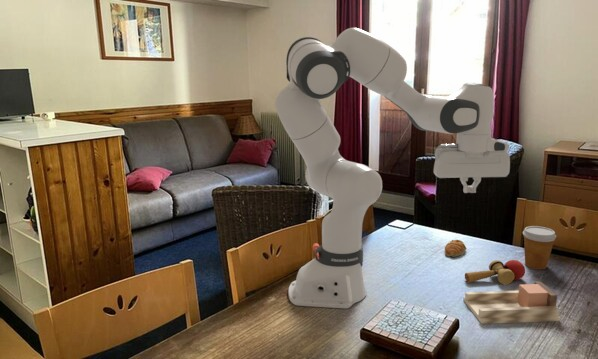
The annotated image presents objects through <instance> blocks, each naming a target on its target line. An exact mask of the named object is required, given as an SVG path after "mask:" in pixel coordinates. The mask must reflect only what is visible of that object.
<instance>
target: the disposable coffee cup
mask: <svg viewBox="0 0 598 359" xmlns="http://www.w3.org/2000/svg"><path fill="white" fill-rule="evenodd" d="M522 236H523V241H524V242H523V245H524V247H523V248H524V265H525V266H526V267H528V268H530V269H534V270H545V269H547V267H548V264H549V260H550V257H551V254H552V250H553V246H554V242H555V240H556V238H557V235H556V232H555V230H553V229H552V228H549V227H544V226H539V225H531V226H530V225H529V226H526V227H525V228H524V229H523V231H522Z"/></svg>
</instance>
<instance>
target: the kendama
mask: <svg viewBox="0 0 598 359" xmlns="http://www.w3.org/2000/svg"><path fill="white" fill-rule="evenodd" d="M524 265H525V264H523V263H522V262H521V261H519V260H517V259H511V260H508V261H506V262H505V263H503V262H502V261H501V260H499V259H495V260H493V261H491V262H490V263H489V265H488V270H482V271H481V270H480V271H471V272H465V273H464V280H465V281H466V283H468V284H469V283H473V282H477V281H480V280H484V279H488V278H492V277H495V276H496V275H497V281H498V282H499V283H500V284H502V285H508V284H510V283H513V281H518V280H520V279H523V277H524V276H525V274H526V268H525V266H524Z"/></svg>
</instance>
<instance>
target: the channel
mask: <svg viewBox="0 0 598 359" xmlns="http://www.w3.org/2000/svg"><path fill="white" fill-rule="evenodd" d="M534 284H538V285H540V286H541V287H542V288H543V289H544V290H546V291H547V292H548V299H547V306H537V307H523V306H522V305H521V304H520V303H518V292H519V289H518V290H496V291H493V290H492V291H490V290H489V291H469V292H468V291H466V292H465V294H464V296H463V302H464V303H465V304H466V306H467V307H468V308H469V310H470V311H471V312H472V314H473V315H474V316H475V317H476V319H477V321H479V322H480V324H481V325H483V324H485V325H487V324H489V325H491V324H508V323H509V324H513V323H516V324H517V323H536V322H537V323H539V322H541V323H542V322H543V323H544V322H545V323H546V322H560V321H561V317H560V316H559V308H560V307H558V306H557V302H558V300H557V299H558V294H556V293H555V292H554V291H553V290H552V289H551V288H549V287H548V286H547V285H545V284H544V283H543V282H542V281H535V282H534Z"/></svg>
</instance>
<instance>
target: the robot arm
mask: <svg viewBox="0 0 598 359" xmlns="http://www.w3.org/2000/svg"><path fill="white" fill-rule="evenodd" d="M285 62H286V80H287V81H288V82H289V84H288V85H287V86H286V87H284V88H283V89H282V90H280V91H279V92H278V94H277V95H276V98H275V100H274V108H275V110H276V113H277V117H278V118H279V121H280V123H281V124H282V126H283V129H284V130H285V131H286V132H285V133H287V135H288V137H289V139H290V140H291V142H292V143H293V145H294V146H295V148H296V149H297V150H298V152H299V154H300V155H301V157H302V159H303V161H304V164H305V166H306V169H305V173H304V174H305V176H304V177H305V180H306V184H307V185H308V186H309V187H310V188H311V189H312V190H314V191H315V192H317V193H318V194H319V195H320V194H321V195H322V196H325V197H328V198H332V200H333V201H332V203H333V204H332V208H331V212H329V213H328V214H326V215H325V216H324V218H323V219H322V221H321V222H322V223H321V243H322V244H321V245H319V243H316V242H315V243H313V245H312V250H313V252H314V258H312V260H310V261H308V262H307V263H306V264H304V265H303V266H301V267H300V268H299V269H298V272H297V274H296V278H295V279H296V280H294V281H292V282H291V283H290V285H289V286H288V291H287V292H288V294H287V295H288V299H289V301H290V302H291V303H292V304H293V305H295V306H300V307H314V308H315V307H316V308H333V309H349V308H351V307H352V306H353V305H354V304H356V303H358V302H360V301H362V300H363V299H365V298H366V296H367V290H366V286H365V281H364V275H363V264H364V248H363V245H362V237H363V236H362V234H363V222H364V217H365V215H366V212H367V211H368V209H369V207H370V206H371V205H373V204H374V203H376V202H377V200H378V199H379V198H380V196H381V194H382V191H383V180H382V177H381V175H380V173H379V172H377V171H376V169H373V168H371V167H369V166H368V165H366V164H363V163H358V162H355V161H350V160H347V159H345V158H344V157H343V156H342V155H341V154H340V150H339V148H340V145H341V136H340V134H339V132H338V131H337V129H336V127H335V125H334V123H333V122H332V120H331V118H330V116H329V115H328V113H327V111H326V109H325V108H324V107H323V104H322V103H321V101H320V100H323V99H328V98H329V97H331V96H333V95H334V94H335V93H337V91H338V90H339V89H340V87H342V85H343V84H345V83H346V82H347V81H348V80H349V78H352V79H353V80H355V81H356V82H358V83H359V84H360V85H362V86H364V87H365V88H367V89H368V90H370V91H372V92H375V93H376V94H379V95H381V96H383V97H384V98H385V99H387V100H388V101H390V102H391V103H392V104H393V105H395V106H396V107H398V108H399V109H400V110H402V111H403V113H405V115H406V116H407V117H408V119H409V120H410V122H411V124H412V125H413V126H414V127H415V128H416V129H417V130H420V131H427V132H434V133H435V132H436V133H441V134H442V133H443V134H448V135H455V134H456V142H455V143H448V144H447V143H441V144H440V145H438V146H437V147H436V148H435V150H434V159H435V161H434V164H433V174H434V175H435V177H437V178H439V179H447V178H448V179H450V178H452V179H453V178H454V179H456V178H459V181H460V182H461V184H462V186H463V189H462V191H463V193H464V194H469V193H470V194H476V193H477V188H478V186H479V184H480V183H481V181H482V178H507V177H508V175H509V174H510V171H511V170H510V169H511V156H510V154H509V152H508V151H509V148H510V145H509V144H508V143H507V142H504V141H502V140H498V139H497V138H494V137H492V127H491V126H492V125H491V124H492V121H493V118H494V107H495V106H494V103H495V100H494V99H495V98H494V92H493V89H492V88H491V87H490V86H489V85H487V84H485V83H484V84H483V83H476V82H466V83H464V84H463V85H462V86H461V87H460V88H459V89H458V90H456V91H455V92H453V93H451V94H449V95H447V96H442V95H433V94H425V93H420V92H419V91H417V90H416V89H415V88H414V87H412V86H411V85H409V84H408V83H407V82H406V81H405V79H406V76H407V71H408V66H407V61H406V60H405V58H404V57H403V56H402V55H401V54H400V53H399V52H398V51H397V50H396V49H395V48H393V47H392V46H391V45H389V43H386V42H385V41H383V40H382V39H380V38H378V37H377V36H375V35H374V34H372V33H369V32H368V31H365V30H363V29H361V28H357V27H349V28H347V29H344V30H343V31H342V32H341V33H340V34H338V36H337V38H336V39H335V41H333V42H332V43H331V44H324V42H322V41H321V39H320V40H319V39H318V38H315V37H310V36H307V37H306V36H305V37H300V38H299V39H297V40H295V41H293V43H292V44H291V45H290V46H289V48H288V49H287V53H286V60H285ZM469 178H472V180H473V182H472V184H471V185H468V184H467V182H468V181H469Z"/></svg>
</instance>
